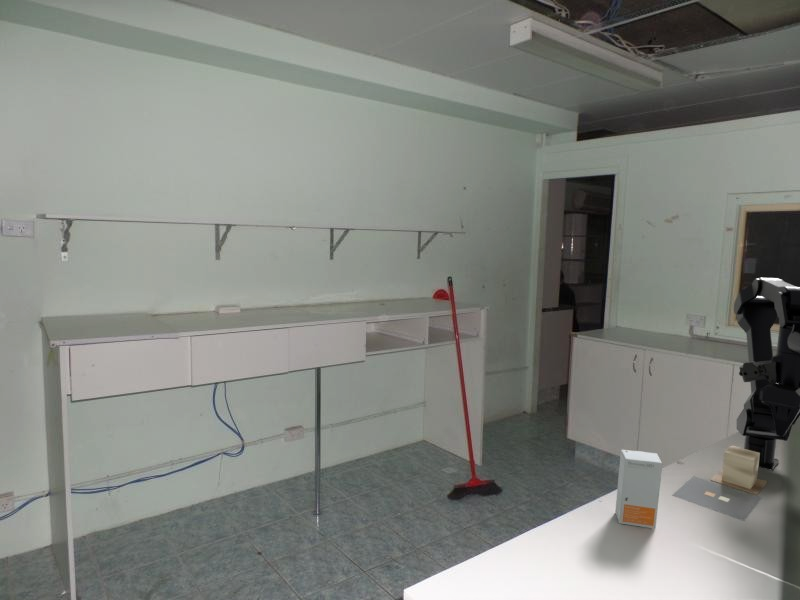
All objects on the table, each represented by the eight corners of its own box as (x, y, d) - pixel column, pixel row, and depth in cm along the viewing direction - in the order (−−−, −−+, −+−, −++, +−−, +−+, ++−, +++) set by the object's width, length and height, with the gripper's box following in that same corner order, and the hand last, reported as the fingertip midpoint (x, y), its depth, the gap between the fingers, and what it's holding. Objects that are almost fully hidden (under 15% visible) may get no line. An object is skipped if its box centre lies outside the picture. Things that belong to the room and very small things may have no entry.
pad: (722, 469, 113) (722, 468, 113) (767, 483, 107) (767, 481, 107) (710, 481, 107) (710, 479, 107) (756, 496, 102) (756, 494, 102)
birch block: (728, 472, 111) (731, 445, 110) (756, 481, 107) (759, 452, 106) (721, 480, 107) (724, 452, 107) (750, 489, 104) (753, 460, 103)
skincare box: (618, 524, 91) (624, 458, 89) (615, 512, 95) (619, 448, 93) (657, 530, 89) (663, 462, 88) (651, 516, 94) (657, 452, 92)
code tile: (693, 476, 109) (693, 475, 109) (762, 499, 101) (762, 497, 101) (671, 496, 101) (671, 495, 101) (744, 522, 92) (744, 520, 92)
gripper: (758, 338, 114) (750, 408, 116) (732, 351, 101) (724, 429, 103) (823, 347, 106) (814, 422, 108) (804, 362, 93) (794, 447, 95)
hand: (785, 429), depth 104 cm, fingers open, 9 cm apart
